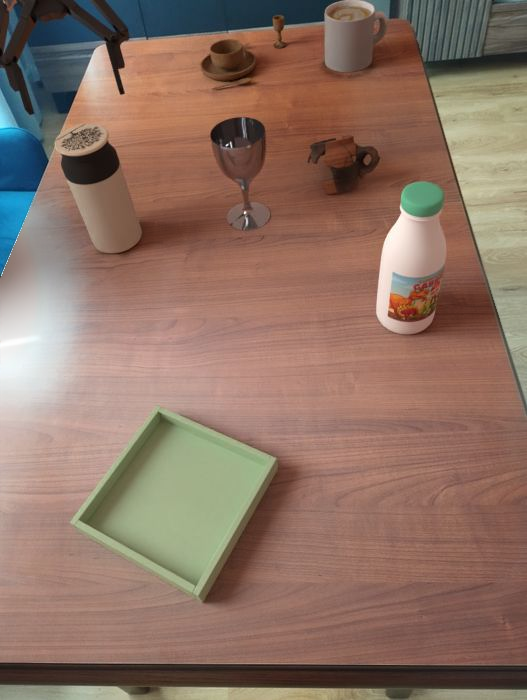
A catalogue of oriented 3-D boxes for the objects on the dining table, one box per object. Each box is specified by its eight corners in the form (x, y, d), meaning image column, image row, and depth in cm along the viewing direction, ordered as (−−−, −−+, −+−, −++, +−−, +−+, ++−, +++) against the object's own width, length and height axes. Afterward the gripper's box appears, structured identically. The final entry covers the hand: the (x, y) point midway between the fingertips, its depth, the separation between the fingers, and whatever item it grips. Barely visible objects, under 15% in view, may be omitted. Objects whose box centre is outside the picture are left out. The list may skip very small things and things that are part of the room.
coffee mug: (330, 75, 121) (331, 24, 113) (319, 54, 127) (319, 4, 119) (393, 65, 121) (398, 13, 113) (380, 44, 127) (383, -7, 119)
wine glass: (214, 216, 96) (199, 133, 84) (251, 194, 98) (241, 110, 87) (244, 239, 91) (233, 155, 80) (283, 215, 94) (276, 130, 82)
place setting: (197, 55, 131) (192, 28, 127) (284, 40, 132) (282, 12, 128) (206, 93, 120) (201, 65, 116) (301, 76, 121) (300, 48, 117)
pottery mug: (307, 199, 97) (298, 147, 94) (321, 189, 105) (313, 141, 102) (379, 187, 92) (372, 132, 89) (388, 177, 100) (381, 127, 97)
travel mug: (151, 238, 93) (120, 136, 79) (108, 262, 91) (68, 161, 77) (126, 215, 98) (92, 115, 84) (84, 237, 95) (42, 138, 81)
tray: (77, 531, 64) (69, 522, 62) (161, 415, 72) (156, 404, 70) (202, 603, 58) (198, 596, 56) (278, 468, 67) (277, 458, 65)
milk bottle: (365, 322, 79) (374, 202, 63) (391, 286, 83) (405, 164, 67) (418, 344, 76) (442, 223, 60) (443, 306, 79) (471, 182, 64)
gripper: (121, -51, 88) (160, 91, 91) (-46, -18, 86) (-2, 127, 88) (115, -83, 81) (157, 73, 83) (-68, -48, 78) (-19, 112, 81)
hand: (76, 101), depth 86 cm, fingers open, 13 cm apart
